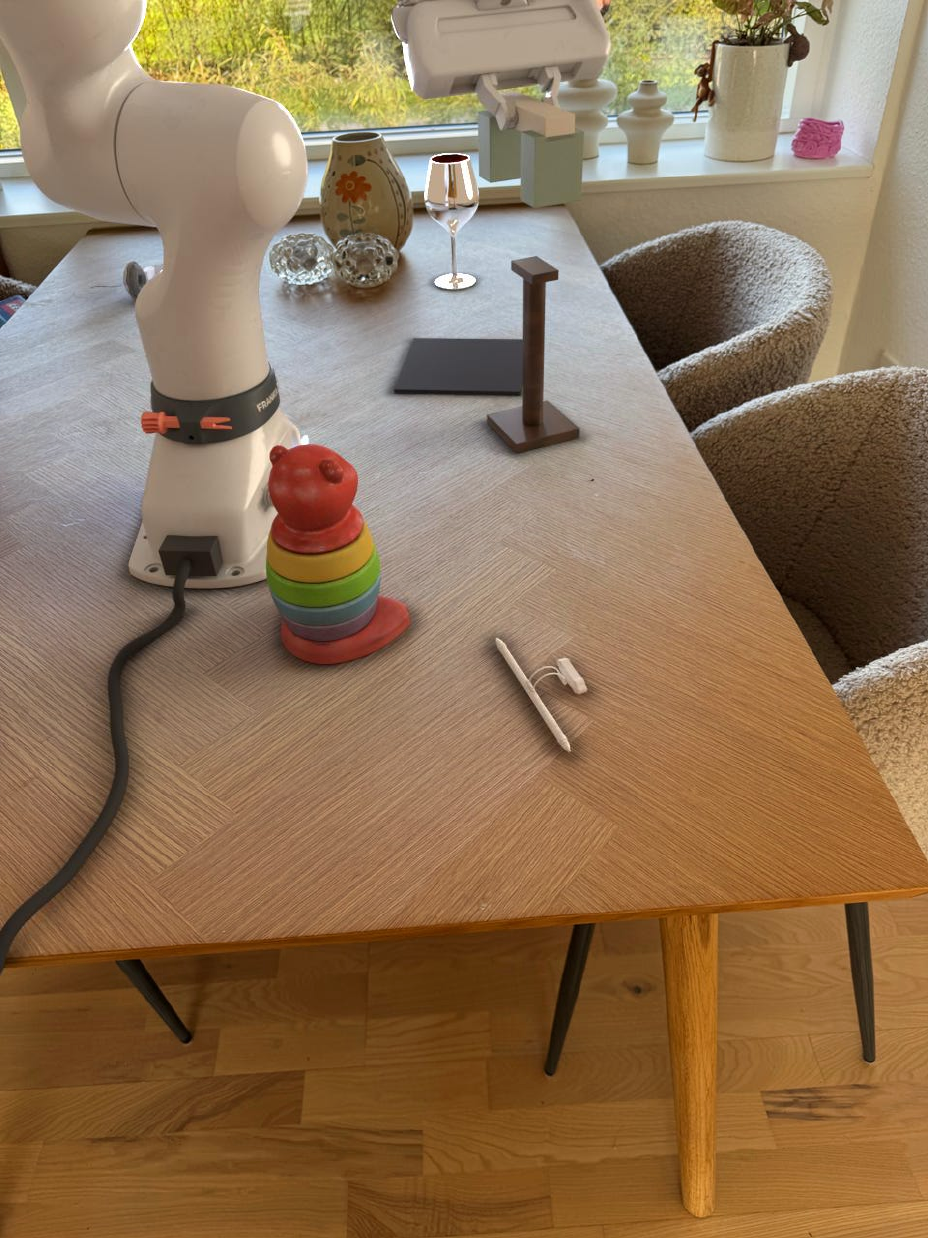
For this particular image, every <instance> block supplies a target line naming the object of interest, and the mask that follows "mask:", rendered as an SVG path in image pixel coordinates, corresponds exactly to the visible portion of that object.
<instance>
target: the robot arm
mask: <svg viewBox="0 0 928 1238" xmlns="http://www.w3.org/2000/svg"><path fill="white" fill-rule="evenodd" d="M146 9H147V0H0V40H1V42H2V43H3V45H4V47H5V49H6V51H7V52H8V54H9V56H10V58H11V60H12V62H13V64H14V66H15V69H16V71H17V74H18V76H19V78H20V81H21V84H22V87H23V90H24V94H25V97H26V105H25V107H24V110H23V112H22V116H21V121H20V127H19V139H20V140H19V141H20V142H19V143H20V150H21V155H22V159H23V162H24V165H25V167H26V170H27V173H28V174H29V176H30V178H31V180H32V181H33V183H34V184H35V186H36V187H37V188H38V190H39V191H40V192H41V193H42V194H43V195H44V196H45V197H46V198H48V200H50V201H52V202H54V203H56V204H58V205H59V206H62V207H65V208H67V209H69V210H72V211H74V212H77V213H79V214H82V215H85V216H86V217H90V218H93V219H96V220H98V221H102V222H109V223H118V224H127V225H133V226H134V225H136V226H144V227H151V228H156V229H157V230H158V233H159V235H160V238H161V241H162V248H163V263H162V264H163V270H162V271H160V272H159V273H157V274H156V275H154V276H153V277H152V278H151V279H150V280H149V281H148V282H147V283H146V284H145V285H144V287H143V288H142V289H141V291H140V293H139V295H138V297H137V300H135V304H134V316H135V317H134V318H135V321H136V325H137V328H138V331H139V336H140V339H141V343H142V347H143V351H144V354H145V358H146V361H147V365H148V368H149V372H150V376H151V381H150V385H149V388H150V389H149V390H150V396H149V397H150V398H149V403H150V410H151V411H149V410H148V411H147V410H146V411H145V410H144V411H143V412H142V413H141V416H140V419H141V420H140V425H141V426H140V427H141V430H142V432H143V433H144V434H146V435H150V434H155V436H154V438H153V444H152V448H151V454H150V458H149V463H148V468H147V473H146V479H145V482H144V483H145V484H144V489H143V495H142V499H141V500H142V501H141V506H140V507H141V518H142V522H141V525H140V528H139V531H138V534H137V537H136V540H135V542H134V545H133V548H132V552H131V554H130V557H129V561H128V564H127V566H128V570H129V574H130V575H132V576H133V577H135V578H137V579H138V580H141V581H143V582H146V583H149V584H153V585H156V586H157V585H158V586H163V587H172V592H171V593H172V594H171V596H172V600H173V608H172V610H171V611H170V614H169V615H168V617H167V618H166V619H165V620H164V621H162V623H160V624H159V625H157V626H156V627H154V628H153V629H151V630H149V631H147V632H145V633H143V634H141V635H139V636H137V637H136V638H134V639H133V640H131V641H129V642H128V643H127V644H125V645H124V646H123V647H122V648H121V649H120V650H119V651H118V652H117V654H116V655H115V657H114V658H113V661H112V663H111V665H110V667H109V670H108V674H107V675H108V676H107V696H108V703H109V727H110V736H111V737H110V738H111V743H112V749H113V754H114V761H115V763H114V776H113V780H112V785H111V787H110V790H109V793H108V795H107V798H106V801H105V803H104V806H103V807H102V809H101V811H100V813H99V814H98V816H97V818H96V820H95V822H94V823H93V824H92V826H91V828H90V829H89V831H88V832H87V833H86V835H85V837H84V838H83V839H82V840H81V842H80V843H79V844H78V846H77V847H76V849H75V850H74V852H73V853H72V854H71V855H70V857H69V858H68V859H67V861H66V862H65V864H64V865H63V866H62V867H61V869H59V871H58V872H57V873H56V874H55V875H54V876H53V877H52V878H51V879H50V880H49V881H47V882H46V883H45V884H44V885H43V886H42V887H41V888H39V889H38V890H37V891H35V893H33V894H32V895H31V896H30V897H29V898H28V899H26V900H25V901H24V902H23V903H22V904H21V905H20V906H19V907H18V908H17V909H16V910H15V911H14V912H13V913H12V914H11V915H10V916H9V918H8V919H7V920H6V921H5V923H4V924H3V925H2V927H1V928H0V976H1V975H2V973H3V971H4V967H5V963H6V959H7V955H8V953H9V950H10V948H11V946H12V944H13V942H14V940H15V939H16V937H17V935H18V934H19V933H20V931H21V930H22V928H23V927H24V926H25V925H26V924H27V923H28V922H29V921H30V919H31V918H33V916H35V914H37V913H38V912H39V911H40V910H41V909H43V907H45V906H46V905H47V904H48V903H49V902H51V900H52V899H54V898H55V897H56V896H57V895H58V894H59V893H60V892H62V890H64V888H66V886H67V885H68V884H69V883H70V882H71V881H72V880H73V879H74V878H75V877H76V876H77V874H78V873H80V870H81V869H82V868H83V866H84V865H85V863H86V862H87V860H88V859H89V858H90V856H91V855H92V853H93V852H94V851H95V849H96V848H97V846H98V845H99V843H100V842H101V841H102V839H103V837H104V836H105V834H106V833H107V831H108V830H109V828H110V827H111V825H112V823H113V822H114V819H115V818H116V816H117V814H118V812H119V810H120V807H121V804H122V802H123V800H124V797H125V794H126V791H127V786H128V782H129V775H130V756H129V749H128V744H127V740H126V733H125V726H124V706H123V697H122V690H121V679H122V675H123V671H124V668H125V666H126V664H127V662H128V661H129V659H130V658H131V657H132V656H133V655H134V654H135V653H137V652H138V651H139V650H141V649H143V648H145V647H147V646H149V645H150V644H152V643H153V642H155V641H156V640H158V639H159V638H161V637H162V636H163V635H165V634H166V633H167V632H169V631H170V630H172V629H173V628H174V627H176V626H177V625H178V624H179V622H180V621H181V619H182V618H183V615H184V613H185V611H186V607H187V605H186V600H185V589H224V588H225V589H226V588H233V587H234V588H236V587H241V586H246V585H250V584H254V583H257V582H260V581H264V580H267V577H266V557H267V541H268V535H269V532H270V530H271V525H272V522H273V520H274V518H275V517H276V515H277V514H278V512H277V511H276V509H275V507H274V505H273V503H272V501H271V498H270V494H269V489H268V480H269V474H270V471H271V469H272V463H271V462H270V458H269V455H270V451H271V450H272V448H273V447H274V446H277V445H281V446H284V447H285V448H286V449H288V450H289V449H291V448H293V447H295V446H299V445H304V444H310V441H309V436H308V435H303V437H302V438H301V434H300V430H299V428H298V427H297V426H296V425H295V424H294V423H293V422H292V421H291V420H290V419H289V418H288V417H287V416H286V415H285V413H284V412H283V411H282V409H281V407H280V404H281V397H280V396H281V395H280V386H279V385H280V384H279V380H278V376H277V375H276V372H275V368H274V366H273V365H272V363H271V362H270V361H269V358H268V352H267V345H266V340H265V333H264V332H265V331H264V326H263V318H262V311H261V310H262V309H261V302H260V301H261V300H260V279H261V272H262V266H263V263H264V260H265V256H266V254H267V251H268V248H269V247H270V244H271V243H272V241H273V239H274V238H275V237H276V235H277V234H278V233H279V232H280V230H282V228H284V227H285V226H286V225H287V224H288V223H290V222H291V220H292V219H293V217H294V216H295V215H296V213H297V211H298V209H299V208H300V206H301V204H302V201H303V198H304V197H305V193H306V188H307V184H308V175H309V174H308V173H309V165H308V164H309V163H308V162H309V161H308V155H307V149H306V145H305V141H304V139H303V136H302V134H301V131H300V129H299V127H298V125H297V123H296V121H295V119H294V118H293V117H292V115H291V113H290V112H289V111H288V109H286V108H285V106H283V105H282V103H279V102H278V101H277V100H274V99H271V98H268V97H266V96H262V95H260V94H257V93H255V92H251V91H248V90H246V89H242V88H238V87H235V86H231V85H228V84H224V83H206V82H205V83H202V82H183V81H165V80H163V81H162V80H161V79H155V78H154V77H152V76H151V75H150V74H149V73H147V72H146V71H145V70H144V69H143V67H142V65H140V63H139V62H138V59H137V57H136V55H135V53H134V50H133V47H132V43H133V42H134V40H135V39H136V38H137V36H138V34H139V32H140V30H141V29H142V28H141V27H142V25H143V23H144V19H145V16H146ZM390 19H391V22H392V25H393V29H394V32H395V34H396V36H397V37H398V39H399V41H400V42H402V47H403V48H402V49H403V56H404V63H405V68H406V72H407V76H408V80H409V85H410V88H411V91H412V92H413V93H415V94H416V95H417V96H418V97H419V98H420V99H422V100H433V99H440V98H447V97H455V96H464V95H472V94H476V97H477V101H478V102H479V103H480V104H481V105H482V106H483V107H484V108H485V109H486V111H487V110H489V111H490V112H491V113H492V114H493V115H495V116H496V119H497V122H498V125H499V128H500V130H507V129H515V128H516V124H518V122H519V114H518V112H517V111H516V104H515V101H514V102H507V101H506V100H505V99H504V98H503V97H502V96H501V95H500V94H499V92H500V91H504V90H510V89H511V90H512V89H518V88H525V87H533V86H538V89H539V91H540V93H542V94H545V96H544V97H542V98H541V100H540V101H542V102H545V103H547V104H550V105H552V106H555V107H558V108H560V109H561V106H560V104H559V101H558V95H559V89H560V84H561V83H565V82H574V81H581V80H590V79H591V80H592V79H595V78H596V77H598V76H599V74H600V72H601V71H602V69H603V68H604V66H605V64H606V63H607V60H608V58H609V56H610V53H611V51H612V41H611V38H610V34H609V31H608V28H607V26H606V22H605V20H604V18H603V15H602V13H601V10H600V7H599V5H598V3H597V1H596V0H400V1H399V2H396V4H394V5H393V7H392V8H391V12H390Z"/></svg>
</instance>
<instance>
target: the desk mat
mask: <svg viewBox="0 0 928 1238" xmlns="http://www.w3.org/2000/svg"><path fill="white" fill-rule="evenodd" d="M522 369H523V338H522V339H518V338H517V339H515V338H514V339H513V338H511V339H510V338H435V337H432V338H431V337H413V339H412V341H411V343H410V346H409V349H408V352H407V354H406V357H405V359H404V361H403V365H402V368H401V369H400V372H399V375H398V377H397V379H396V383H395V385H394V388H393V393H394V394H429V395H430V394H433V395H437V394H438V395H486V396H487V395H489V396H490V395H491V396H522Z"/></svg>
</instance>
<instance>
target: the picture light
mask: <svg viewBox="0 0 928 1238" xmlns="http://www.w3.org/2000/svg"><path fill="white" fill-rule="evenodd" d="M494 639H495V646H496V647H497V650H498V651H499V652H500V654H501V655H502V657H503V658H504V660H505V661H506V663H507V664H508V666H509V667H510V669H511V671H512V672H513V674H514V675H515V677H516V678H517V680H518V682H519V683H520V685H521V686H522V688H523V689H524V691H525V692H526V694H527V695H528V697H529V699H530V700H531V702H532V703H533V705H534V706H535V708H536V709H537V711H538V713H539V714H540V716H541V717H542V719H543V720H544V722H545V724H546V725H547V727H548V728H549V729H550V732H551V733H552V734H553V736H554V738H555V739H556V741H557V743H558V745H559V746H560V747H561V748H562V749H564V750H565V751H567V752H568V753H570V752H571V751H572V750H571V745H570V742H569V741H568V740H569V739H568V738H567V736H566V735H565V734H564V733H563V731H562V729H561V728H560V726H559V725H558V723H557V722H556V720H555V719H554V717H553V716H552V714H551V712H550V711H549V710H548V708H547V707H546V705H545V704H544V702H543V701H542V699H541V697H540V696H539V694H538V693H537V691H536V689H535V687H536V686H537V684H538V683H539V682H540V681H541V680H543V678H545V677H548V676H551V675H557V677H558V679H559V680H560V682H561V683H562V685H563V686H567V685H568V686H569V687H571V689H572V691H573V692H574V693H575V694H577V695H581V694H584V693H588V688H587V685H586V682H585V680H584V678H583V677H582V676H581V675H580V674H579V672H578V671H577V670H576V668H575V667H574V665H573V664H572V662H571V661H570V659H569V658H566V657H562V658H559V659H556V665H557V667H558V668H557V667H555V666H551V665H547V666H542V667H540V668H538V669H537V670H535V671H534V672H533V673H531V675H530V676H529V678H527V676H526V675H525V673H524V672H523V670H522V669H521V667H520V666H519V664H518V663H517V661H516V659H515V657H514V656H513V655H512V654H511V652H510V650H509V649H508V647H507V645H506V644H505V642H503V640H501V639H500V638H498V637H495V638H494ZM544 669H554V670H555V671H556V672H549V673H546V674H544V675H542V676H540V678H538V679H537V680H536V681H535V683H534V684H532V683H531V680H532V679H533V677H534V676H535V675H536V674H537V673H538V672H540V671H542V670H544Z"/></svg>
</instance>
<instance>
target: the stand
mask: <svg viewBox="0 0 928 1238" xmlns="http://www.w3.org/2000/svg"><path fill="white" fill-rule="evenodd" d="M510 270H511V271H512V272H513V273H515V274H516V275H518V276H519V277H521V278H522V339H523V369H522V389H521V396H522V397H521V398H522V399H521V400H522V403H521V406H517V407H513V408H509V409H505V410H500V411H497V412H492V413H488V414H487V415H486V423H487V425H488V426H489V427H490V428H491V429H492V430H493V431H494V432H495V433H496V434H497V435H498V436H499V437H500V438H501V439H502V440H503V441H504V442H505V443H506V444H507V446H509V448H510V449H511V450H513V451H514V453H516V454H520V453H524V452H526V451H527V452H528V451H532V450H536V449H541V448H544V447H547V446H552V445H556V444H559V443H563V442H567V441H572V440H575V439H579V438H580V431H581V430H580V426H577V424H575V423H574V422H573V421H572V420H571V419H569V418H568V417H567V416H566V415H565V414H564V413H562V411H561V410H559V409H558V408H557V407H556V406H555V405H554V404H552V403H551V402H550V401H549V400H548V399H547V400H544V397H545V396H544V392H545V386H544V385H545V345H546V344H545V343H546V296H547V294H546V292H547V283H549V282H554V281H559V269H558V268H556V267H554V266H553V265H551V264H550V263H548V262H547V261H545V260H543V259H542V258H541V257H539V256H537V255H535V256H530V257H524V258H519V259H512V260H510Z"/></svg>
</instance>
